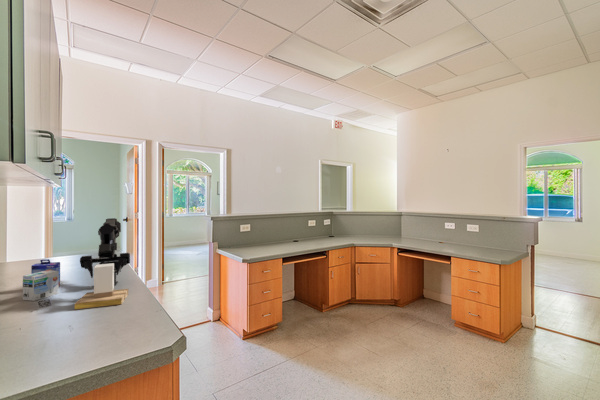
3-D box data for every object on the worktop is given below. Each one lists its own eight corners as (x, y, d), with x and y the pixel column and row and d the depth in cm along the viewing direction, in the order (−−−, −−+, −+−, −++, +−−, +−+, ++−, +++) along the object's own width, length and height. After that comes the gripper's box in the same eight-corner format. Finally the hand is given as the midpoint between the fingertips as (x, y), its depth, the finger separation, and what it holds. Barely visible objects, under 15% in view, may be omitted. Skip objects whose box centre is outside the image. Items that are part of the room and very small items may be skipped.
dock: (86, 298, 125) (86, 292, 125) (128, 294, 131) (128, 288, 131) (74, 309, 112) (74, 303, 112) (121, 304, 118) (121, 298, 118)
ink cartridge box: (30, 290, 135) (30, 260, 135) (36, 287, 141) (36, 258, 141) (55, 288, 139) (56, 259, 139) (60, 285, 144) (60, 257, 144)
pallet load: (96, 294, 123) (96, 264, 123) (113, 292, 126) (114, 263, 126) (93, 298, 118) (94, 267, 118) (112, 296, 121) (112, 265, 121)
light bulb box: (33, 301, 121) (33, 276, 121) (21, 300, 123) (21, 275, 123) (59, 293, 132) (59, 270, 132) (48, 292, 133) (48, 269, 133)
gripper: (80, 238, 124) (75, 268, 115) (129, 235, 134) (128, 263, 124) (83, 252, 131) (79, 282, 122) (130, 249, 140) (129, 277, 131)
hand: (104, 276), depth 124 cm, fingers open, 9 cm apart
